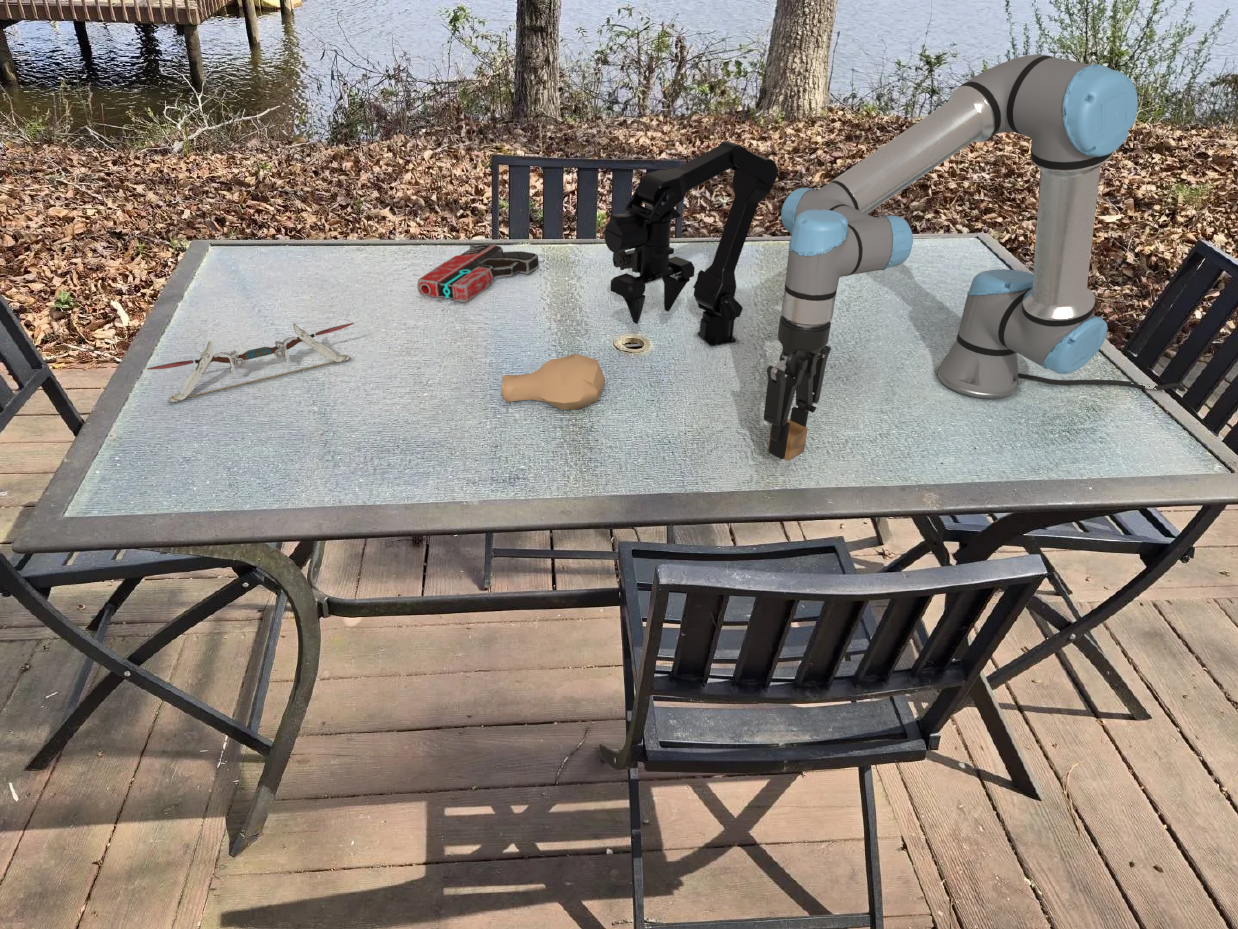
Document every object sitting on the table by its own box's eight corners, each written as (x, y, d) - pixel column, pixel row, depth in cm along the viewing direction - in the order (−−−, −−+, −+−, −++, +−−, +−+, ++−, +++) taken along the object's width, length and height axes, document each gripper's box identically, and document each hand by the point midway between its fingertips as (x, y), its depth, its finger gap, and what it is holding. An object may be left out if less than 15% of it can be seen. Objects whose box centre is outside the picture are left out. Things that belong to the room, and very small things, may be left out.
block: (782, 441, 146) (786, 418, 143) (804, 451, 143) (808, 428, 141) (767, 450, 143) (770, 427, 141) (788, 461, 141) (792, 437, 138)
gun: (542, 248, 224) (475, 239, 230) (485, 289, 199) (411, 278, 205) (543, 265, 226) (476, 256, 232) (486, 308, 202) (414, 296, 207)
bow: (357, 354, 182) (350, 309, 176) (360, 358, 181) (353, 313, 175) (156, 402, 164) (141, 354, 158) (158, 406, 162) (143, 358, 157)
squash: (607, 416, 164) (601, 378, 158) (502, 424, 166) (492, 387, 160) (608, 380, 172) (602, 343, 166) (508, 388, 174) (499, 351, 167)
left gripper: (658, 221, 180) (654, 293, 189) (591, 242, 169) (591, 316, 178) (698, 235, 174) (693, 309, 182) (632, 257, 163) (629, 334, 171)
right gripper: (818, 295, 138) (798, 422, 151) (749, 326, 127) (734, 459, 140) (859, 309, 133) (835, 439, 146) (791, 343, 123) (771, 479, 136)
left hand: (651, 316), depth 179 cm, fingers open, 9 cm apart
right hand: (785, 449), depth 143 cm, fingers closed on block, 4 cm apart
